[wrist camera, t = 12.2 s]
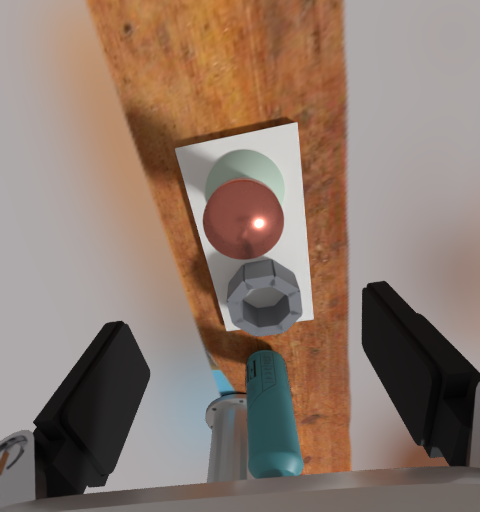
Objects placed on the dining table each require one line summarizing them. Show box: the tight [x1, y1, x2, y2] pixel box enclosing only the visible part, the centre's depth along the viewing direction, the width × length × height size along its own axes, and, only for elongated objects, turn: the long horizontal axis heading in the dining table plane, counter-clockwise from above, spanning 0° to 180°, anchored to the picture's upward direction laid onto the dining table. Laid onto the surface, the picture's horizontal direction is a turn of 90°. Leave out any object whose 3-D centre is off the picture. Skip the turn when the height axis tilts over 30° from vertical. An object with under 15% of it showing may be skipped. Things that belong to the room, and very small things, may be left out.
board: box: [175, 122, 314, 337], centre depth 31 cm, size 26×13×5 cm, turn 11°
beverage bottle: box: [245, 350, 304, 479], centre depth 33 cm, size 6×7×20 cm
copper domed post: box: [203, 176, 284, 260], centre depth 25 cm, size 6×6×10 cm
